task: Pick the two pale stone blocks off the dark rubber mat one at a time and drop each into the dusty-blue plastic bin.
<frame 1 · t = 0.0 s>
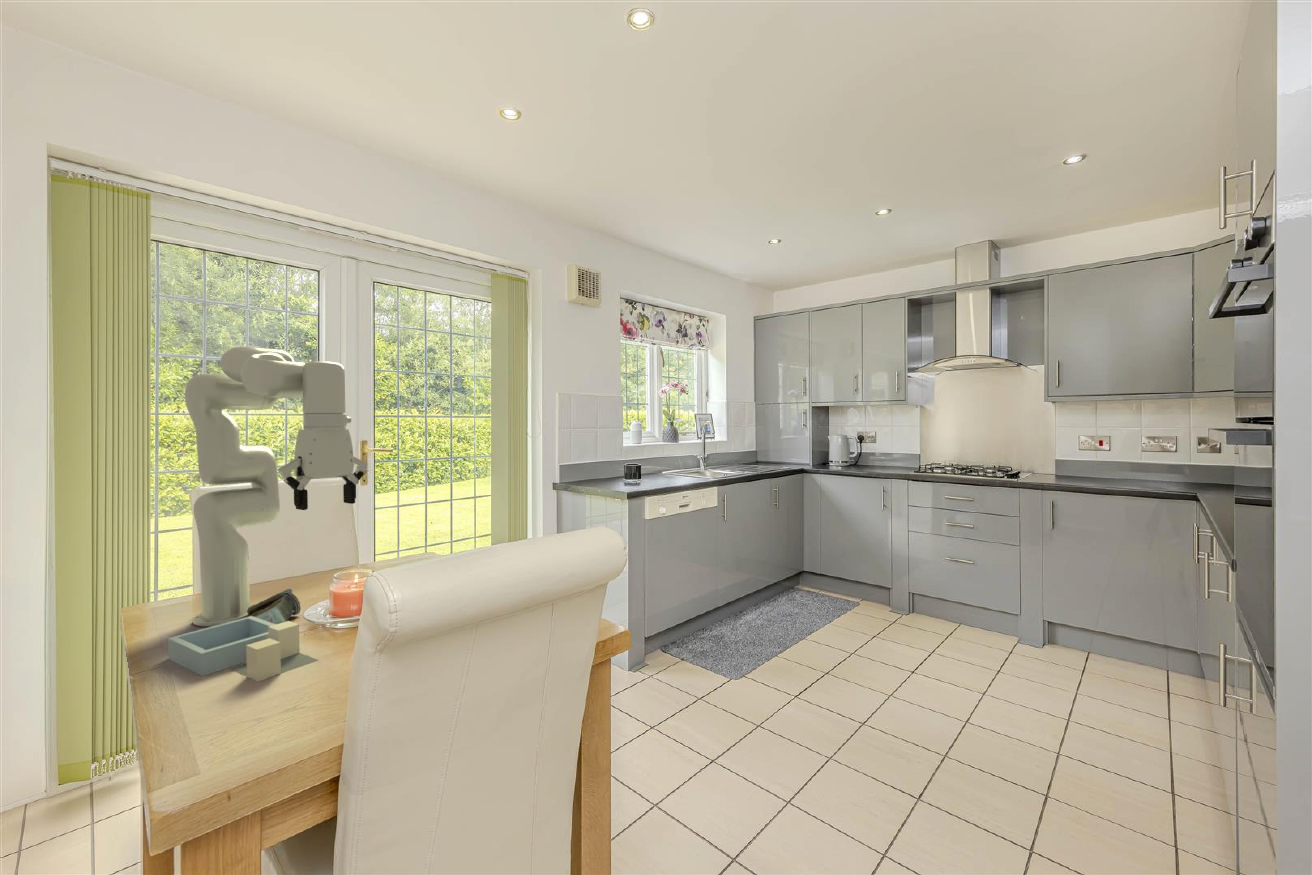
hand: (326, 506, 116), 31 cm above the table, tool pointing down, fingers open, 9 cm apart
stone 2: (264, 674, 108), resting on dark mat
blue bin: (229, 654, 118), on the table
dark mat: (274, 665, 112), on the table
dark piece: (267, 622, 137), on the table, touching arm
stone 1: (284, 654, 117), resting on dark mat
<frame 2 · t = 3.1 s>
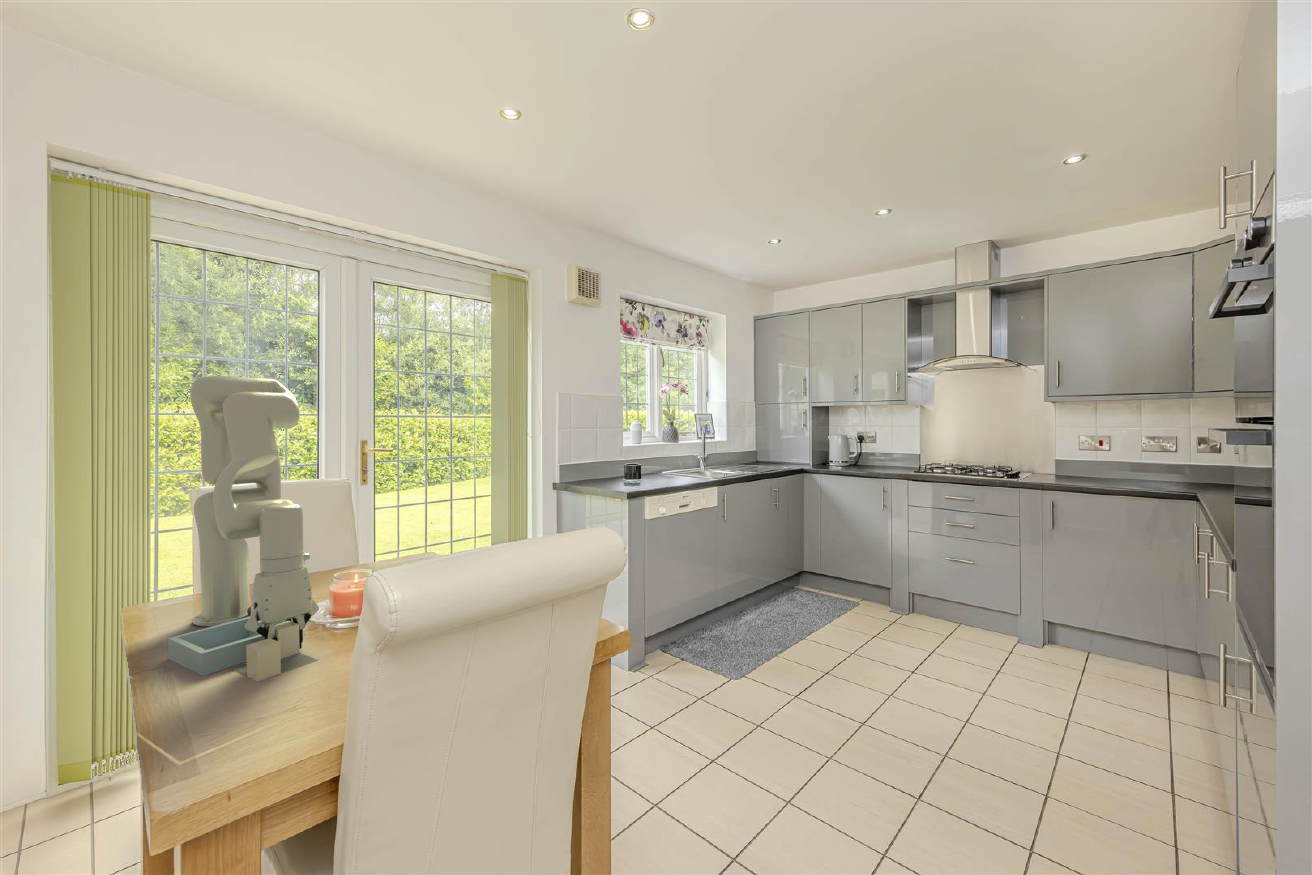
hand: (284, 650, 117), 1 cm above the table, tool pointing down, fingers closed on stone 1, 4 cm apart
stone 1: (284, 654, 117), resting on dark mat, touching gripper
everything else where it was.
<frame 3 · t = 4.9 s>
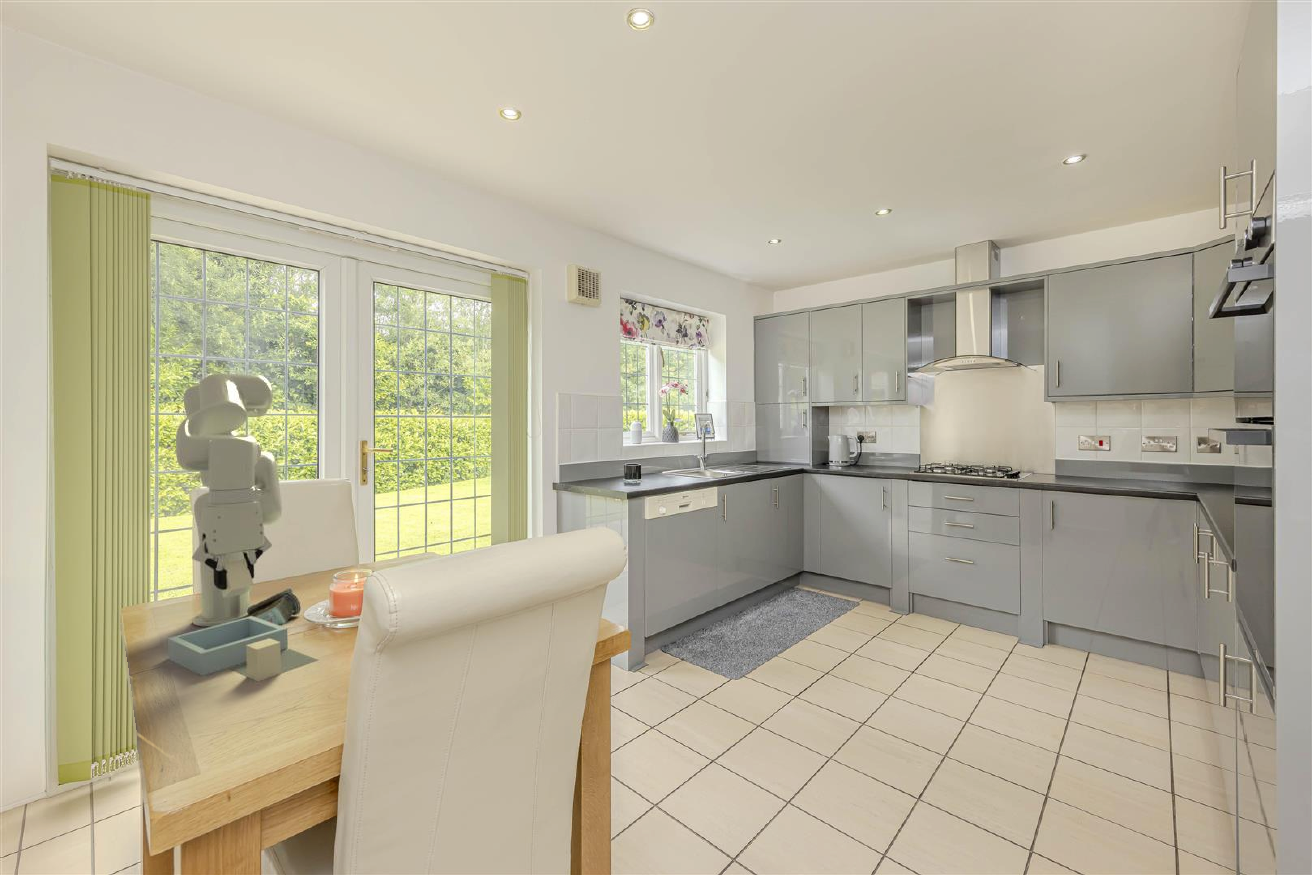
hand: (234, 584, 116), 15 cm above the table, tool pointing down, fingers closed on stone 1, 3 cm apart
stone 1: (238, 591, 115), point 14 cm above the table, tilted 33°, touching gripper
everything else where it was.
when the fingers open (4 cm above the table, at t = 6.9 s): stone 1 drops 2 cm, resting on blue bin.
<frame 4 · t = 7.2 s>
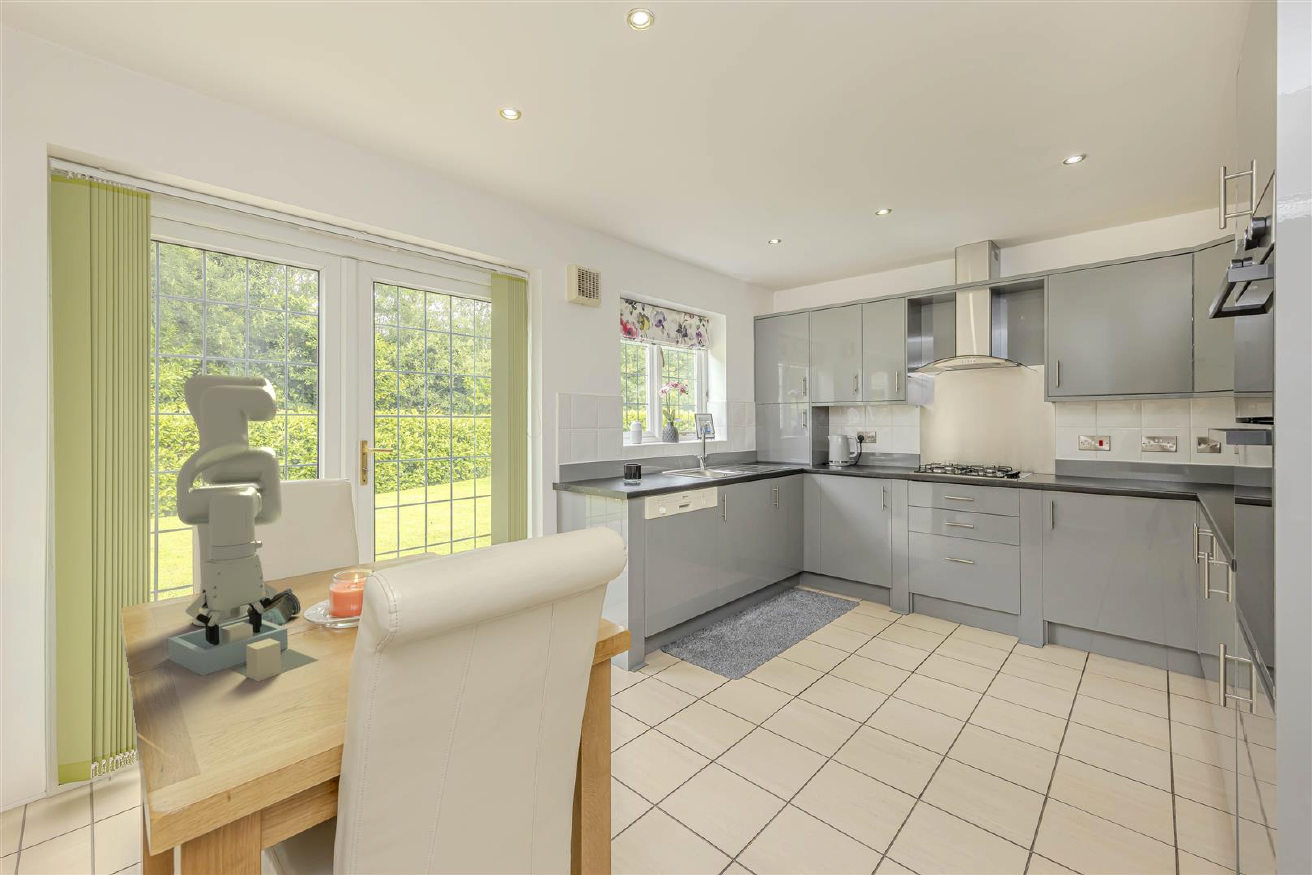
hand: (234, 636, 116), 4 cm above the table, tool pointing down, fingers open, 6 cm apart
stone 1: (237, 655, 116), point 1 cm above the table, touching blue bin
everything else where it was.
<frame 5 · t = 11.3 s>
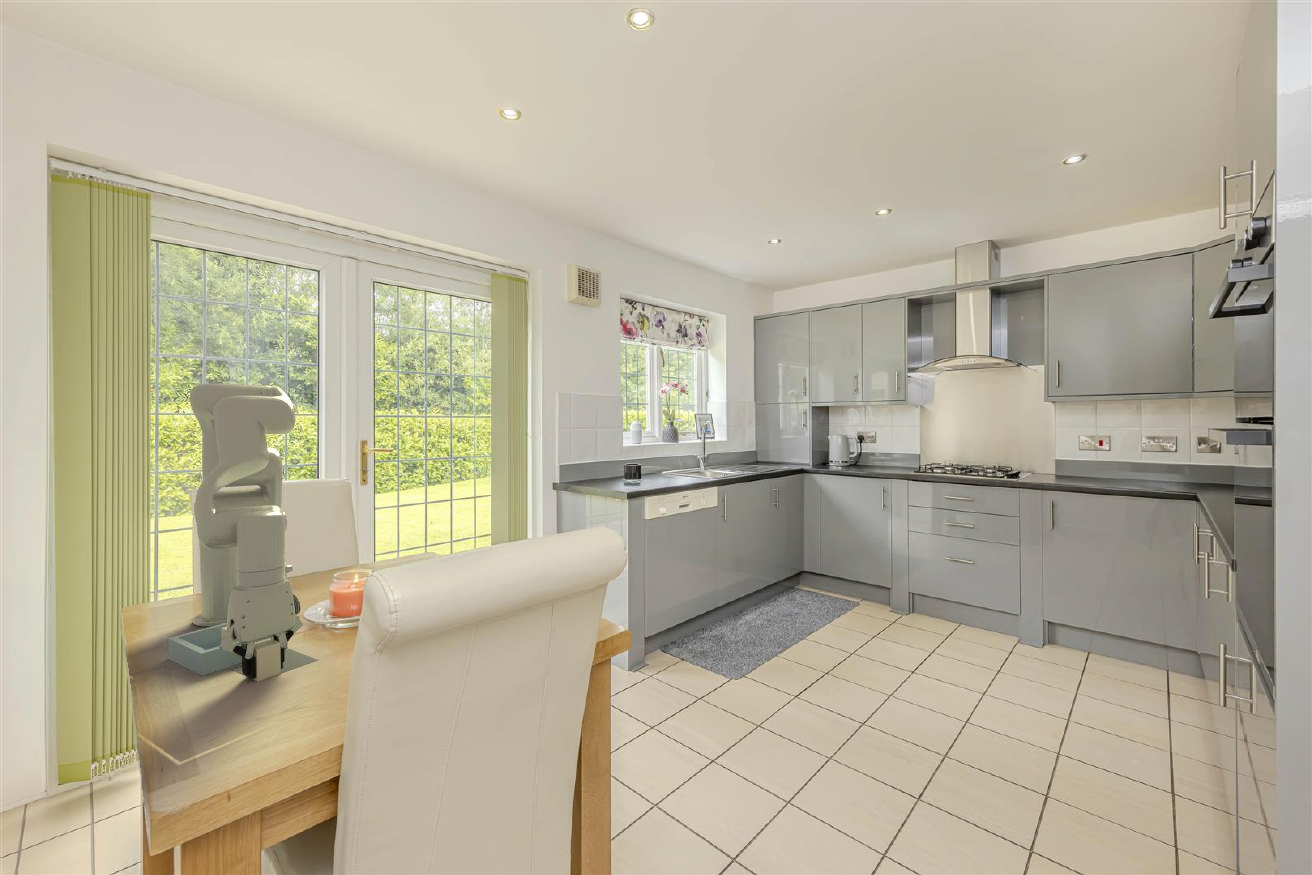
hand: (264, 671, 108), 1 cm above the table, tool pointing down, fingers closed on stone 2, 3 cm apart
stone 2: (263, 674, 108), resting on dark mat, touching gripper
everything else where it was.
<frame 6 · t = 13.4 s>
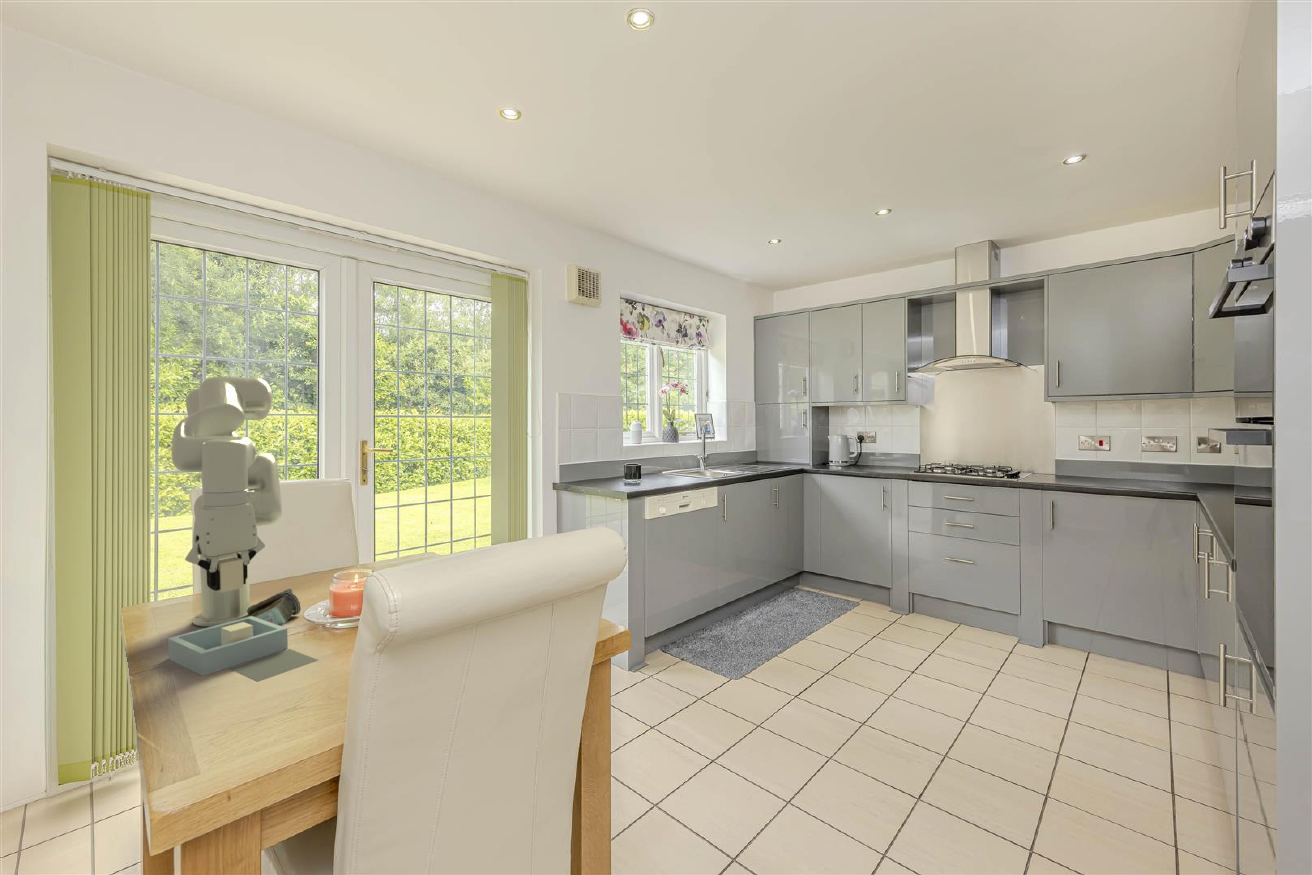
hand: (227, 585, 118), 14 cm above the table, tool pointing down, fingers closed on stone 2, 4 cm apart
stone 2: (227, 588, 118), point 14 cm above the table, touching gripper
everything else where it was.
when the fingers open (4 cm above the table, at t = 15.7 s): stone 2 drops 3 cm, resting on blue bin.
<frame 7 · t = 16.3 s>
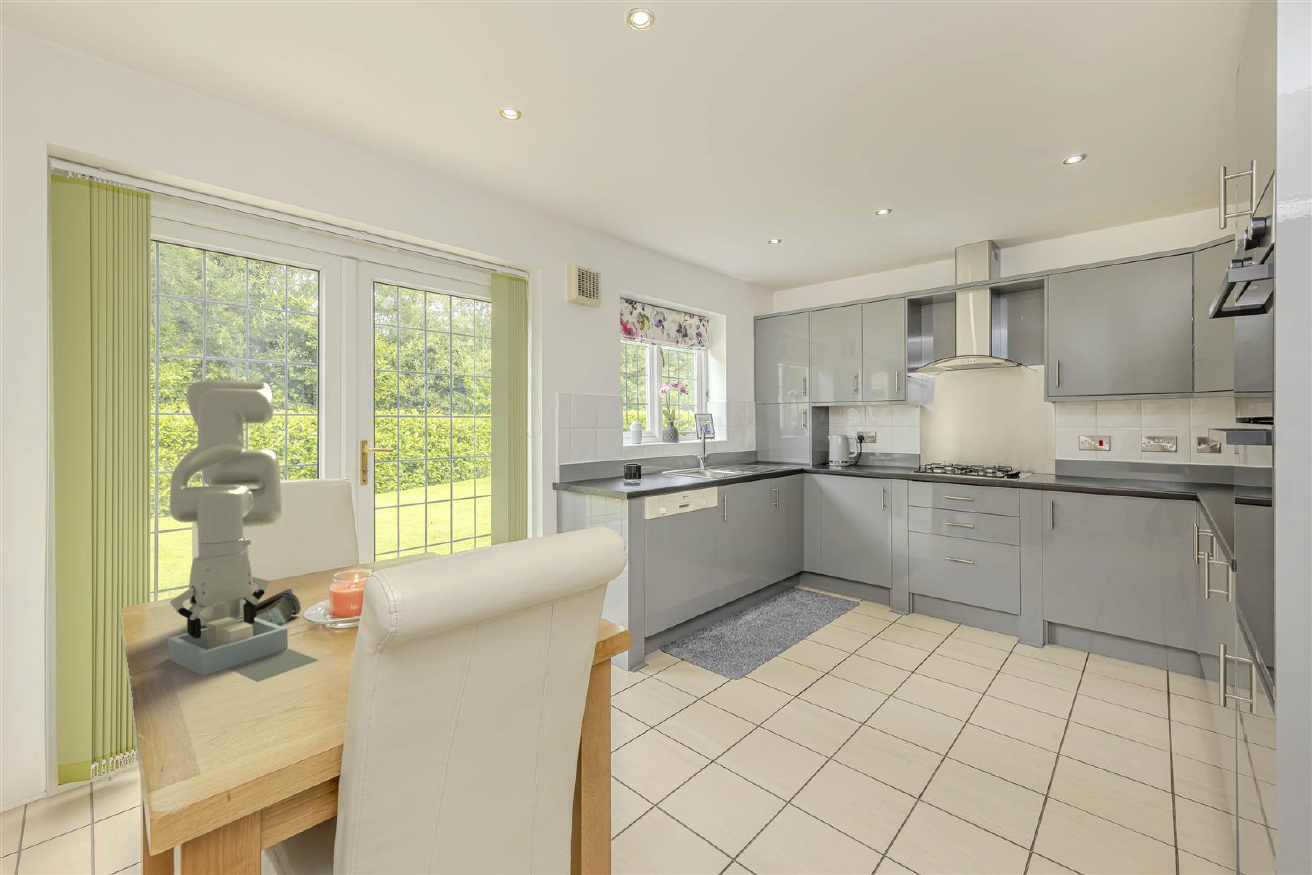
hand: (223, 629, 119), 5 cm above the table, tool pointing down, fingers open, 9 cm apart
stone 2: (223, 649, 119), resting on blue bin
everything else where it was.
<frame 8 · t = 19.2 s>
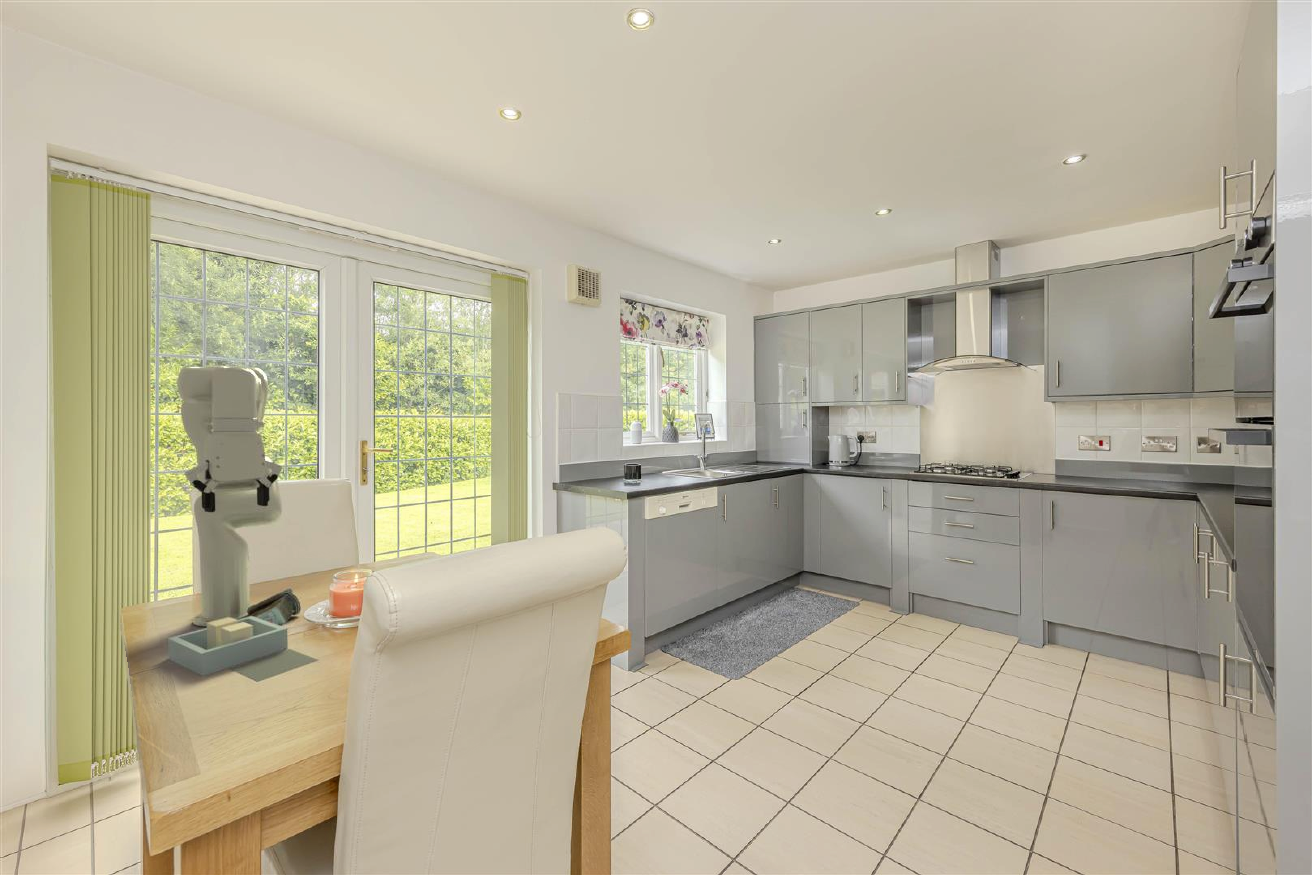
hand: (237, 508, 119), 30 cm above the table, tool pointing down, fingers open, 9 cm apart
nothing on the table moved.
at the end: stone 1 inside the target area on the blue bin (3.5 cm from its centre), point 0.5 cm above the blue bin's base; stone 2 inside the target area on the blue bin (2.5 cm from its centre), point 0.5 cm above the blue bin's base; the gripper is holding nothing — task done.
